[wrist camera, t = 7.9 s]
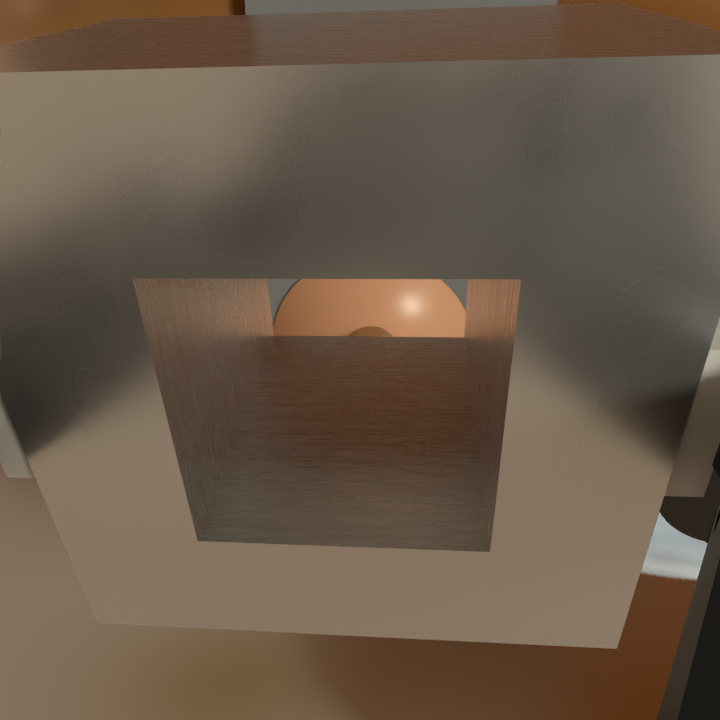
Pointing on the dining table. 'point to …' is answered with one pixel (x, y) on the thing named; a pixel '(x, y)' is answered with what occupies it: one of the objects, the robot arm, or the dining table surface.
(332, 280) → the post board
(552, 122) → the collar
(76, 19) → the dining table surface
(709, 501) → the jar
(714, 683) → the robot arm
